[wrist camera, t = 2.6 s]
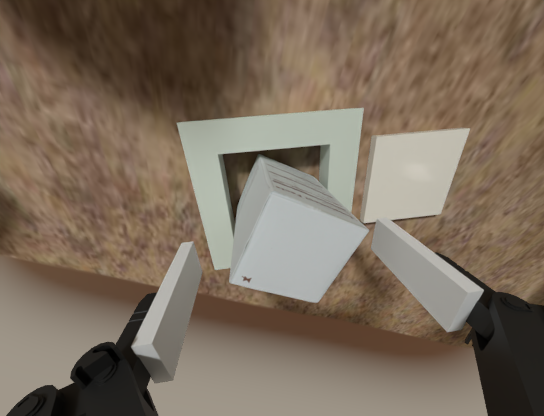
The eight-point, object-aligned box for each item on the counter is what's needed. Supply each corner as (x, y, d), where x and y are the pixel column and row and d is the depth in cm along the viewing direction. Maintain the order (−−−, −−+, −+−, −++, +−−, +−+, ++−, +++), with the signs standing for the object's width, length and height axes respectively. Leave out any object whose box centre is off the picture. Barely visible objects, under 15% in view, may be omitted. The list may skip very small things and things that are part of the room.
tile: (461, 127, 23) (470, 128, 22) (434, 210, 28) (440, 214, 27) (371, 135, 23) (376, 136, 22) (359, 219, 27) (363, 223, 27)
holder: (349, 108, 21) (363, 107, 18) (337, 240, 29) (346, 253, 26) (186, 121, 20) (176, 122, 17) (218, 254, 27) (214, 269, 25)
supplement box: (288, 224, 27) (317, 307, 15) (235, 206, 25) (224, 285, 13) (315, 175, 24) (374, 231, 13) (258, 150, 22) (269, 190, 11)
